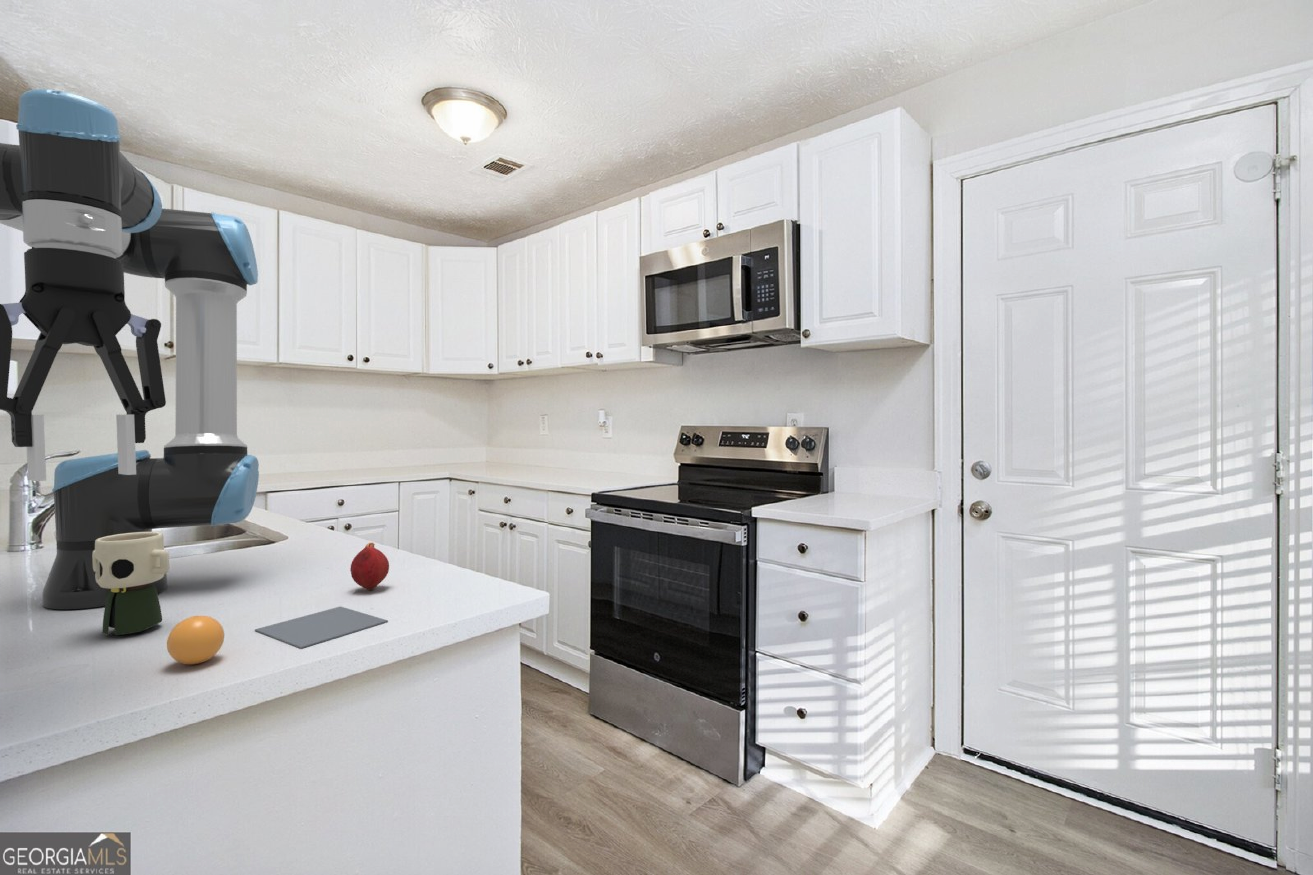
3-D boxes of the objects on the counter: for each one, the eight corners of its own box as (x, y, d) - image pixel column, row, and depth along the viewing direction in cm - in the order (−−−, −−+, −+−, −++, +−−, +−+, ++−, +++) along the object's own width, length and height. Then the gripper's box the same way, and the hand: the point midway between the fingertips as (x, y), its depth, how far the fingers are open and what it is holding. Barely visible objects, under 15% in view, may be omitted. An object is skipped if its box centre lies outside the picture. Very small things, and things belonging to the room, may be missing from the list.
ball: (159, 665, 73) (157, 619, 73) (213, 650, 78) (211, 606, 78) (179, 676, 70) (177, 627, 70) (233, 659, 75) (232, 614, 75)
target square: (254, 630, 85) (254, 629, 85) (340, 607, 95) (340, 606, 95) (301, 648, 78) (301, 647, 78) (387, 621, 88) (387, 620, 88)
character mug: (70, 639, 82) (66, 541, 81) (121, 621, 89) (118, 530, 89) (146, 641, 81) (142, 542, 80) (192, 623, 88) (189, 531, 88)
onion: (374, 596, 101) (373, 547, 101) (343, 594, 102) (341, 545, 102) (396, 586, 107) (395, 539, 106) (366, 584, 108) (365, 538, 107)
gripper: (-59, 224, 54) (-47, 488, 55) (200, 267, 70) (207, 471, 71) (-76, 237, 58) (-64, 483, 59) (173, 275, 74) (179, 468, 75)
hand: (84, 476), depth 65 cm, fingers open, 6 cm apart
